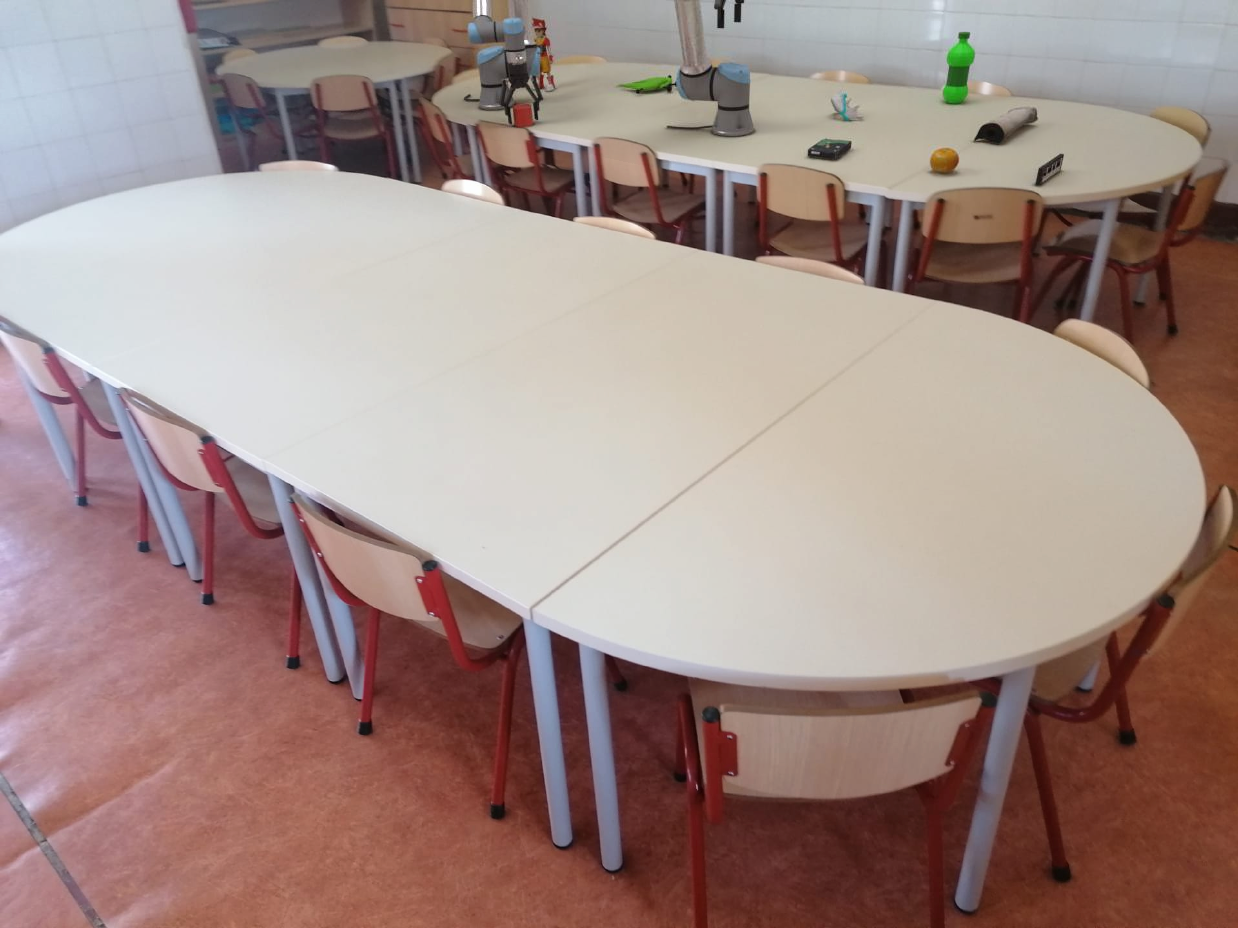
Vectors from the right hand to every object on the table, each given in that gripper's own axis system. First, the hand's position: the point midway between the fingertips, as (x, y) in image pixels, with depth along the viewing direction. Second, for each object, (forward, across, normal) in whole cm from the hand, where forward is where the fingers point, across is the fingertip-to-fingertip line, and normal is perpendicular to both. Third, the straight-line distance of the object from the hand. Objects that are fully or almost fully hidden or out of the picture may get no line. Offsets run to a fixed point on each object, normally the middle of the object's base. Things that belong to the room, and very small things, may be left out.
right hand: (729, 25), depth 349 cm
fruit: (+31, +47, +103) cm, 117 cm away
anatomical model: (+31, -4, +49) cm, 58 cm away
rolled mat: (+31, -4, +109) cm, 113 cm away
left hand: (+29, +55, -63) cm, 89 cm away
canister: (+31, +55, -63) cm, 89 cm away
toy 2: (+31, -17, -51) cm, 62 cm away
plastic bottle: (+31, -41, +79) cm, 94 cm away
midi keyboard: (+31, +40, +133) cm, 143 cm away
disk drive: (+31, +43, +63) cm, 82 cm away
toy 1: (+31, +1, -95) cm, 100 cm away
